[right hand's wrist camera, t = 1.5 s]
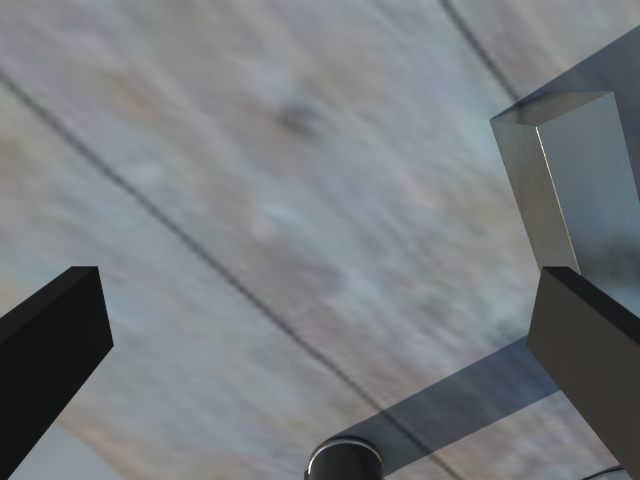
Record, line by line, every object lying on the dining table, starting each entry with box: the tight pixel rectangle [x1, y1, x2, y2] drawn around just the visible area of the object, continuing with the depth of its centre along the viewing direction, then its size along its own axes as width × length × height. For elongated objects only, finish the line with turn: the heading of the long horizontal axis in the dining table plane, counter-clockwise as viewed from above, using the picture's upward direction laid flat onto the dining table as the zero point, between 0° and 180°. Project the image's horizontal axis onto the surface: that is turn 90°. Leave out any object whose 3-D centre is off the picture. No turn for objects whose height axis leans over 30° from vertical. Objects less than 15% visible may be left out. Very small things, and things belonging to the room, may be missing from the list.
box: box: [490, 91, 640, 318], centre depth 38 cm, size 23×6×9 cm, turn 26°
